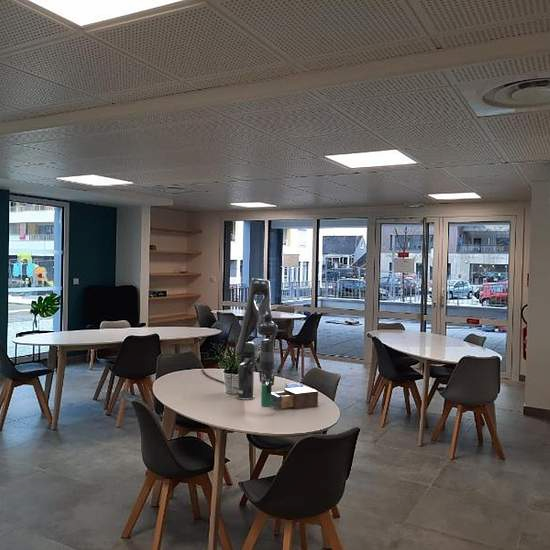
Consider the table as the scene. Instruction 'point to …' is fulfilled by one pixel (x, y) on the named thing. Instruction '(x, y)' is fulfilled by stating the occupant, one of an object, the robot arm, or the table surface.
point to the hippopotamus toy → (293, 385)
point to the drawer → (282, 399)
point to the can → (265, 396)
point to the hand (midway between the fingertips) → (266, 391)
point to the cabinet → (304, 397)
